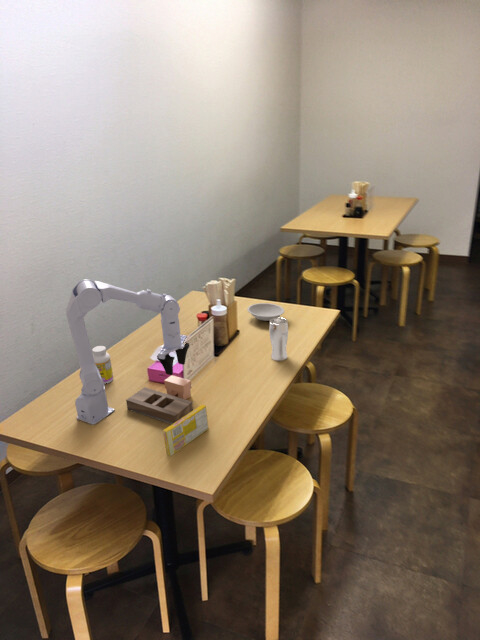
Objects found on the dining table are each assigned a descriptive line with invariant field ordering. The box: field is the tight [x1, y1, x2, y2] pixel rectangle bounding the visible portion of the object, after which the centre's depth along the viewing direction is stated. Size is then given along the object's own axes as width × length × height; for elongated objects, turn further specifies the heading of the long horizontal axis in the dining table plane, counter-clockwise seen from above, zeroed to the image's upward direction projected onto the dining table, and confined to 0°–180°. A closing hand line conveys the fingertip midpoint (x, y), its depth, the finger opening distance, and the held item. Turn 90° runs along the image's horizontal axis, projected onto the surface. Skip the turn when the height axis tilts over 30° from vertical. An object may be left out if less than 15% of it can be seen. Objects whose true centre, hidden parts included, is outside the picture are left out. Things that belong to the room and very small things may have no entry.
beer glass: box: [268, 317, 289, 362], centre depth 201 cm, size 7×7×15 cm
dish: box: [247, 302, 285, 322], centre depth 236 cm, size 18×14×5 cm
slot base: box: [125, 387, 194, 425], centre depth 173 cm, size 9×20×4 cm, turn 58°
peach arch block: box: [164, 374, 192, 400], centre depth 180 cm, size 4×8×6 cm, turn 58°
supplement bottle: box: [91, 345, 114, 385], centre depth 192 cm, size 7×7×13 cm
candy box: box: [162, 404, 210, 457], centre depth 156 cm, size 16×2×8 cm, turn 141°
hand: (175, 368), depth 179 cm, fingers open, 7 cm apart
